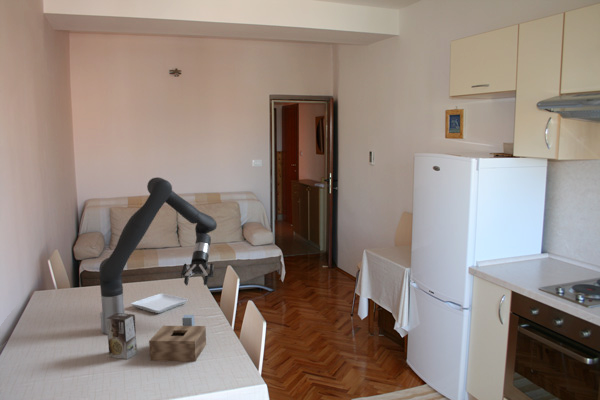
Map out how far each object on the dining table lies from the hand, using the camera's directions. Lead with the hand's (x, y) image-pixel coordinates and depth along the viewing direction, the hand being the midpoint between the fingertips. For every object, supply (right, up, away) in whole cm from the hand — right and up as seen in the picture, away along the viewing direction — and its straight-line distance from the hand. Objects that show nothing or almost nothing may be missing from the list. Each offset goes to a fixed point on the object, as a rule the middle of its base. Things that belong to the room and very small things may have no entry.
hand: (195, 284), depth 221 cm
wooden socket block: (-1, -23, -24) cm, 34 cm away
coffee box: (-23, -24, -26) cm, 42 cm away
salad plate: (-26, -18, +33) cm, 46 cm away
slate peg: (0, -22, -10) cm, 24 cm away
